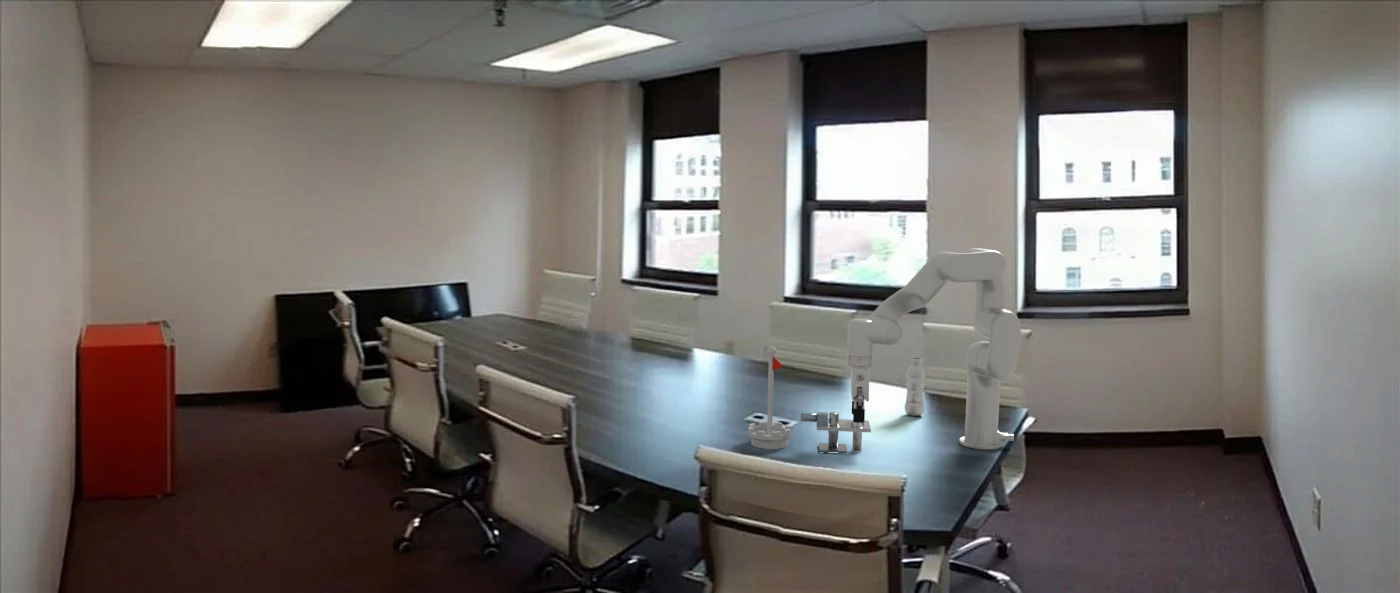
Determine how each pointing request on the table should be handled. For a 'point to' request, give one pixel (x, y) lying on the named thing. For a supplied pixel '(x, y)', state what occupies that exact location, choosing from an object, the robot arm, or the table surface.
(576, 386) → the table surface
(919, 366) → the plastic bottle
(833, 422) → the plate with square hole
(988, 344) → the robot arm
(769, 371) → the flag stand
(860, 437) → the pin
